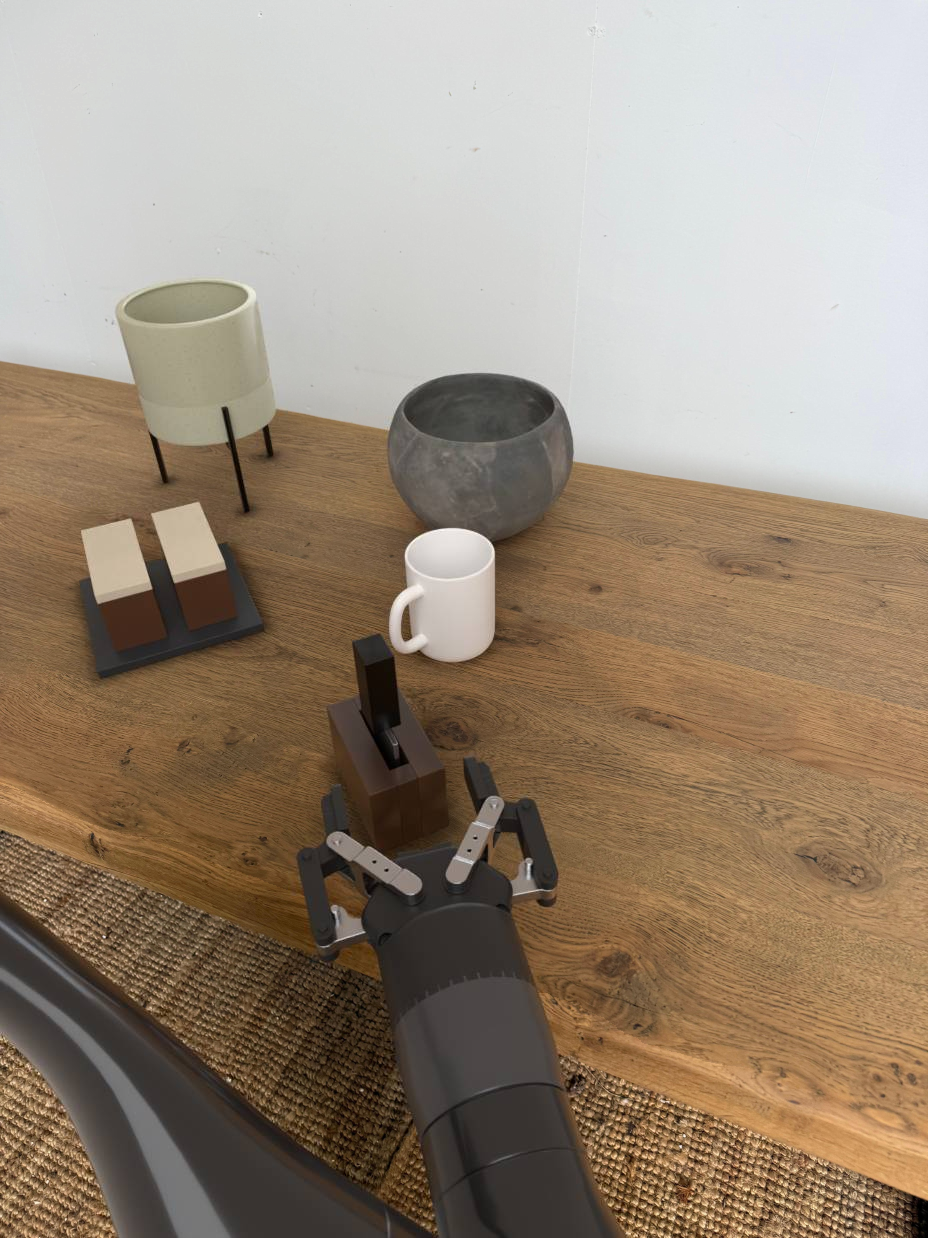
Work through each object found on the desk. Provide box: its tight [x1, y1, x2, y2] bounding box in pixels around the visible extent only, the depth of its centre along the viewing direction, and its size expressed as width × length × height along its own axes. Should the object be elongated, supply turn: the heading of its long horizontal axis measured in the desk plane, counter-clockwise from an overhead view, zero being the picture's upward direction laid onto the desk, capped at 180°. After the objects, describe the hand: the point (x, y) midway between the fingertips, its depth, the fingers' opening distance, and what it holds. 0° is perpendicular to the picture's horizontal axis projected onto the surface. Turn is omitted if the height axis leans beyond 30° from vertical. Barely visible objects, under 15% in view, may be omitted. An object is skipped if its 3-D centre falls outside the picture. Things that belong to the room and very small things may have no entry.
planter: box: [114, 277, 277, 514], centre depth 103 cm, size 15×16×23 cm
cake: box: [79, 501, 265, 680], centre depth 88 cm, size 16×16×8 cm
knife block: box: [325, 685, 449, 854], centre depth 69 cm, size 6×10×7 cm, turn 25°
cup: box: [388, 528, 496, 663], centre depth 81 cm, size 8×12×10 cm
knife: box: [351, 632, 401, 771], centre depth 66 cm, size 2×6×16 cm, turn 25°
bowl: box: [386, 372, 575, 543], centre depth 97 cm, size 20×20×15 cm
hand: (403, 778), depth 55 cm, fingers open, 8 cm apart
